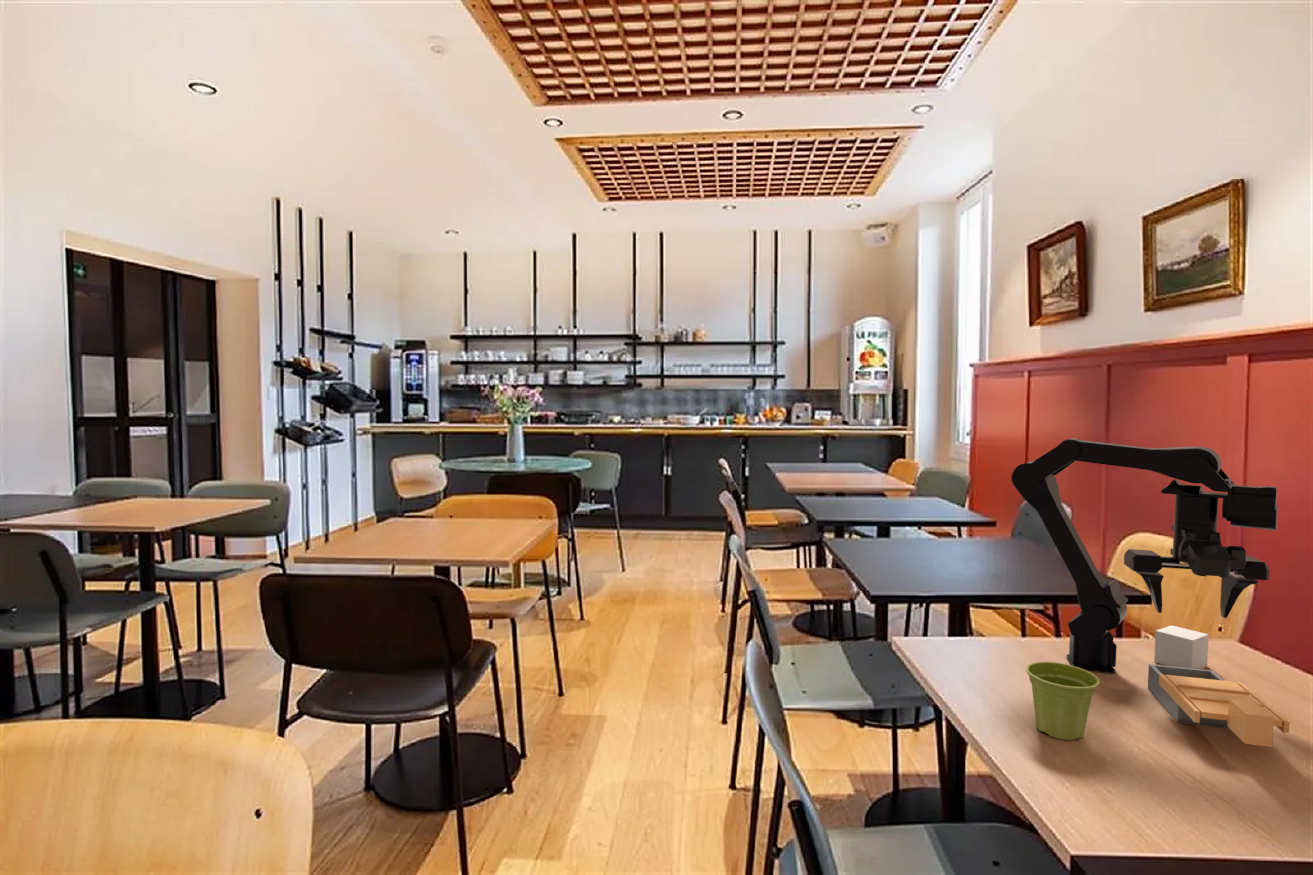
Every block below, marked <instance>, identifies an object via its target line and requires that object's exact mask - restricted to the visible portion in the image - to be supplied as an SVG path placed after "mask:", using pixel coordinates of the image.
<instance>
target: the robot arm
mask: <svg viewBox="0 0 1313 875" xmlns="http://www.w3.org/2000/svg"><path fill="white" fill-rule="evenodd" d="M1075 462H1082V463H1083V462H1084V463H1091V464H1099V465H1106V466H1115V467H1120V468H1121V467H1122V468H1123V467H1124V468H1131V469H1138V470H1145V471H1146V470H1147V471H1150V472H1153V473H1157V474H1160V475H1163V476H1166V477H1169V478H1173V479H1172V480H1171V482H1170V483H1169V484H1168V485H1166V486H1165V487H1164V488H1162V489H1161V490H1160V492H1161V494H1164V495H1165V494H1166V495H1174V496H1175V499H1174V515H1173V516H1174V518H1173V519H1174V520H1173V524H1171V531H1172V532H1173V537H1172V538H1173V539H1172V540H1173V541H1172V547H1171V548H1170V549H1169V550H1170V552H1169V553H1170V556H1162V555H1160V554H1158V553H1156V552H1154V551H1153V550H1150V549H1149V550H1147V549H1134V548H1133V549H1131V548H1129V549H1128V550H1127V551H1125V553H1124V555H1123V565H1125V566H1126V567H1128V569H1130V570H1131V571H1132V572H1135V573H1137V574H1138V575H1139V576H1140V577H1141V578H1142V579H1143V581H1144V584H1145V585H1146V587H1147V590H1148V592H1149V595H1150V598H1151V600H1152V603H1153V605H1154V608H1155V610H1156V612H1157V613H1159V614H1161V613H1162V610H1163V592H1162V589H1163V588H1162V583H1163V579H1164V575H1162V573H1160V572H1159V571H1161V570H1162V569H1163V568H1165V569H1179V570H1180V569H1181V570H1191V572H1192V573H1193V575H1196V576H1198V577H1207V576H1209V577H1219V578H1221V582H1220V583H1221V584H1220V585H1221V586H1220V601H1219V602H1220V604H1219V606H1220V617H1222V618H1224V619H1227V618H1228V616H1229V615H1230V612H1231V611H1232V609H1233V607H1234V606H1235V604H1236V602H1237V600H1238V598H1239V597H1240V595H1241V594H1242V593H1243V591H1244V590H1245V589H1246V588H1248V587H1249V586H1251V585H1258V583H1259V581H1269V579H1270V577H1269V576H1270V568H1269V566H1268V564H1267V563H1266V562H1265V561H1263V560H1261V559H1258V558H1256V557H1254V556H1252V555H1247V550H1246V549H1245V548H1244V546H1242V545H1241V546H1240V545H1228V546H1223V545H1222V543H1221V532H1219V531H1218V513H1219V499H1222V508H1221V511H1222V512H1221V517H1222V520H1225V521H1226V522H1229V523H1230V527H1236V528H1237V527H1238V528H1239V527H1240V528H1248V529H1249V528H1250V529H1256V530H1257V529H1258V530H1269V531H1277V526H1278V516H1279V515H1278V514H1279V513H1278V512H1279V506H1278V504H1277V497H1278V496H1277V493H1278V488H1277V486H1270V485H1269V486H1268V485H1267V486H1266V485H1264V486H1252V485H1251V486H1250V485H1240V484H1239V485H1236V484H1235V482H1234V481H1233V480H1232V478H1230V477H1229V476H1228V474H1227V473H1226V472H1225V471H1224V470H1223V469H1222V460H1221V457H1220V455H1219V454H1218V453H1217V452H1216V451H1215V450H1213V449H1211V448H1209V447H1207V446H1177V447H1176V446H1175V447H1158V448H1156V447H1154V448H1153V447H1144V446H1135V445H1128V444H1127V445H1126V444H1120V443H1118V444H1117V443H1108V442H1102V441H1101V442H1099V441H1091V440H1083V439H1079V438H1076V437H1074V438H1068V439H1065V440H1063V441H1061V442H1060V443H1059V444H1058V445H1057V446H1055V447H1054V448H1052V449H1051V450H1049V451H1047V452H1046V453H1044V454H1043V455H1041V456H1039V457H1038V458H1037V459H1035V460H1033V461H1029V462H1024V463H1021V464H1019V465H1017V466H1016V467H1015V468H1014V469H1013V471H1012V474H1011V482H1012V485H1013V487H1014V488H1015V489H1016V490H1017V493H1019V495H1020V496H1021V497H1022V499H1023V500H1024V501H1025V502H1027V503H1028V504H1029V505H1030V506H1031V508H1033V509H1034V510H1035V511H1036V512H1037V515H1039V518H1040V520H1041V521H1042V523H1043V525H1044V527H1045V529H1046V531H1047V533H1048V535H1049V537H1050V538H1051V540H1052V543H1054V546H1055V547H1056V550H1057V551H1058V553H1059V555H1060V558H1061V559H1062V560H1063V562H1064V565H1065V566H1066V568H1067V570H1068V572H1069V574H1070V576H1071V577H1072V580H1073V582H1074V583H1075V585H1074V586H1075V590H1076V595H1077V601H1078V605H1079V607H1080V610H1081V611H1080V612H1079V613H1078V614H1076V615H1075V616H1074V617H1073V618H1072V619H1071V620H1070V621H1069V622H1068V623H1067V626H1068V628H1069V647H1068V648H1069V649H1068V654H1067V653H1066V659H1067V660H1068V661H1069V663H1070V665H1071V666H1075V667H1079V668H1082V669H1084V670H1087V671H1089V672H1100V673H1101V672H1102V673H1109V674H1115V673H1116V669H1115V667H1116V666H1117V648H1118V647H1117V644H1116V643H1115V642H1114V636H1113V634H1112V633H1111V632H1110V631H1113V629H1116V628H1117V627H1118V626H1119V625H1120V624H1121V622H1122V621H1123V620H1124V619H1125V617H1126V615H1127V613H1128V605H1127V602H1128V601H1129V598H1128V597H1126V596H1125V595H1124V593H1123V592H1122V590H1121V588H1120V587H1121V586H1120V583H1119V582H1118V580H1117V579H1116V578H1115V579H1112V580H1111V581H1108V580H1107V579H1106V578H1105V577H1104V576H1103V575H1102V574H1101V573H1100V571H1099V570H1098V568H1097V567H1096V564H1095V563H1094V560H1093V559H1092V557H1091V555H1090V553H1089V551H1088V550H1087V548H1086V546H1085V544H1084V542H1083V540H1082V538H1081V537H1080V535H1079V533H1078V531H1077V530H1076V527H1075V526H1074V524H1073V522H1072V520H1071V519H1070V517H1069V515H1068V513H1067V511H1066V509H1065V507H1064V506H1063V504H1062V501H1061V495H1060V488H1059V485H1058V482H1057V479H1056V476H1057V475H1059V474H1060V473H1061V472H1063V471H1064V470H1065V469H1067V468H1068V467H1069V466H1071V465H1072V464H1074V463H1075ZM1179 480H1180V481H1183V482H1186V483H1190V484H1182V483H1180V482H1179ZM1195 484H1196V485H1195ZM1199 484H1201V485H1199ZM1202 485H1203V486H1204V487H1206V488H1208V489H1210V490H1211V491H1205V490H1203V486H1202ZM1258 580H1259V581H1258Z"/></svg>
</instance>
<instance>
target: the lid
mask: <svg viewBox="0 0 1313 875" xmlns="http://www.w3.org/2000/svg"><path fill="white" fill-rule="evenodd" d="M1159 685H1160V686H1161V687H1162V688H1163V689H1164V690H1165V691H1166V692H1167V693H1168V694H1169V695H1170V696H1171V698H1172V699H1173V700H1174V701H1175V702H1176V703H1177V704H1178V705H1179V706H1180V707H1181V708H1182V709H1183V710H1184V712H1185V713H1186V714H1187V715H1188V716H1189V717H1190V718H1191V719H1192V720H1193V721H1194V722H1197V723H1200V716H1201V717H1202V718H1210V719H1219V720H1227V721H1228V728H1229V729H1228V730H1231V731H1232V733H1234V735H1235V736H1236V737H1238V738H1239V739H1240V741H1241V742H1242V743H1244V744H1246V745H1254V746H1260V747H1261V746H1262V747H1271V748H1272V747H1273V746H1274V745H1273V744H1274V727H1275V728H1277V729H1279V730H1280V731H1281V732H1282V733H1283V734H1290V724H1291V723H1290V721H1289V720H1288V719H1287V718H1285V717H1284V716H1283V715H1282V714H1281V713H1280V712H1278V711H1277V710H1276V709H1274V708H1273V707H1272V706H1270V704H1268V703H1267V702H1266V701H1265V700H1263V698H1261V697H1260V696H1258V694H1256V693H1255V692H1253V691H1252V690H1251V689H1250V688H1249V687H1248V686H1246V685H1245V684H1244V683H1243V682H1240V681H1237V682H1236V681H1231V680H1224V681H1222V680H1213V679H1203V678H1193V677H1184V676H1174V675H1164V674H1159Z"/></svg>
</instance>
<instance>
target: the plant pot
mask: <svg viewBox="0 0 1313 875" xmlns="http://www.w3.org/2000/svg"><path fill="white" fill-rule="evenodd" d="M1025 672H1026V674H1027V675H1028V676H1029V678H1028V679H1029V682H1030V683H1031V689H1032V698H1033V699H1032V701H1033V708H1034V717H1035V719H1034V720H1035V726H1036V728H1037V730H1038V731H1040V732H1044V733H1045V734H1047V735H1048V736H1050V737H1052V738H1054V739H1059V740H1064V741H1075V740H1076V739H1079V738H1080V739H1082V738H1083V737H1084V735H1085V731H1086V725H1087V721H1088V716H1089V711H1090V707H1091V703H1092V699H1093V698H1092V697H1093V696H1094V694H1095V692H1096V689H1097V688H1098V687H1099V686H1100V683H1101V681H1100V678H1098V676H1097V675H1095V673H1093V672H1092V671H1089V670H1084V669H1082V668H1079V667H1075V666H1072V665H1071V664H1067V663H1062V662H1055V661H1054V662H1053V661H1035V662H1032V663H1029V664H1028V665H1026V667H1025Z"/></svg>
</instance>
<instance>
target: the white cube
mask: <svg viewBox="0 0 1313 875" xmlns="http://www.w3.org/2000/svg"><path fill="white" fill-rule="evenodd" d="M1154 633H1155V635H1154V636H1155V639H1154V656H1153V657H1154V659H1153V660H1154V663H1157V664H1159V665H1163V666H1173V667H1183V668H1193V669H1205V668H1206V667H1208V658H1209V636H1210V634H1208V633H1204V632H1201V631H1195V630H1193V629H1188V628H1184V627H1180V626H1176V625H1169V626H1165V627H1162V628H1160V629H1156V630H1155V632H1154Z"/></svg>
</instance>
